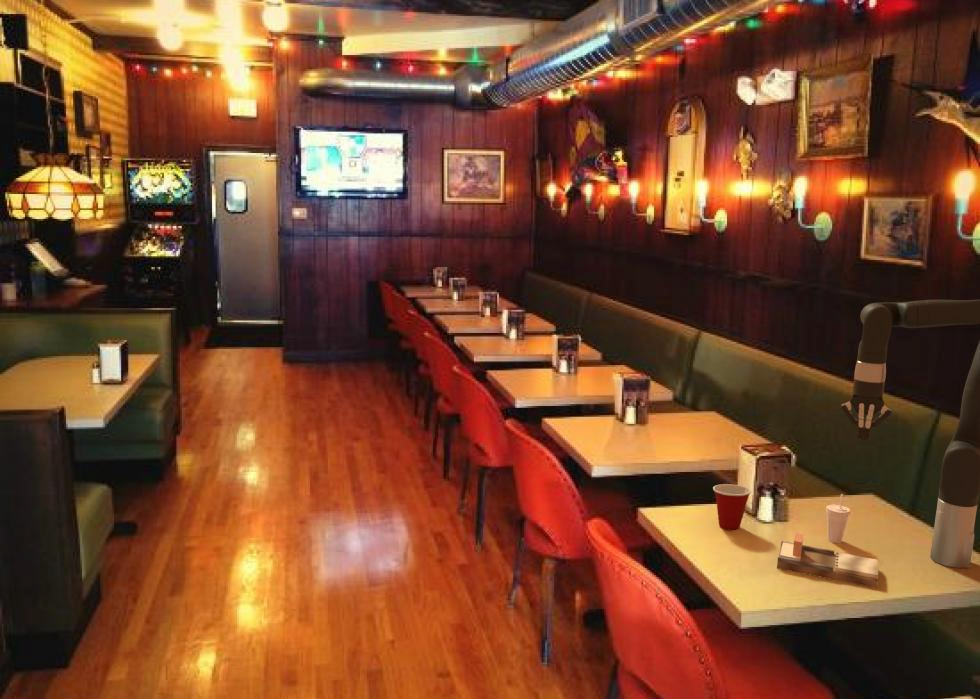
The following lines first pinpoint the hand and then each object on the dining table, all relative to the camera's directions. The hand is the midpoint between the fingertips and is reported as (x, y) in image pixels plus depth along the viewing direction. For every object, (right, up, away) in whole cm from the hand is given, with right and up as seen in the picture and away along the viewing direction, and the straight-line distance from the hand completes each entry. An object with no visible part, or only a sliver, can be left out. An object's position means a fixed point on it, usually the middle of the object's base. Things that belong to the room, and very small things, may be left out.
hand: (862, 440), depth 224 cm
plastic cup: (-31, -28, +20) cm, 46 cm away
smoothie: (-3, -30, +12) cm, 33 cm away
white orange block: (-21, -30, -3) cm, 37 cm away
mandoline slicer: (-12, -33, -6) cm, 36 cm away
